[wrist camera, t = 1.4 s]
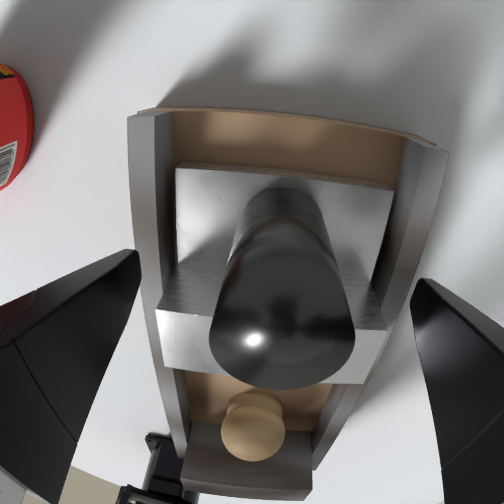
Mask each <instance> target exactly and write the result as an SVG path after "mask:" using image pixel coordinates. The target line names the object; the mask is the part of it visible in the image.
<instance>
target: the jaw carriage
mask: <svg viewBox="0 0 504 504" xmlns="http://www.w3.org/2000/svg"><path fill="white" fill-rule="evenodd" d="M175 183H176V227H177V252H178V265H177V267H176V269H175V271H174V273H173V275H172V277H171V279H170V281H169V283H168V285H167V287H166V289H165V291H164V293H163V295H162V297H161V299H160V301H159V303H158V305H157V307H156V316H157V323H158V330H159V336H160V342H161V348H162V354H163V360H164V366H165V367H171V368H177V369H183V370H190V371H196V372H203V373H210V374H218V375H226V376H233V377H234V378H236V379H238V380H240V381H241V382H244V383H246V384H249V385H252V386H255V387H259V388H264V389H271V390H291V389H299V388H303V387H308V386H311V385H314V384H317V383H336V384H363V383H364V381H365V379H366V377H367V375H368V373H369V371H370V369H371V367H372V365H373V363H374V361H375V359H376V356H377V354H378V352H379V350H380V348H381V346H382V343H383V341H384V339H385V337H386V334H387V332H388V329H387V326H386V323H385V321H384V318H383V315H382V312H381V310H380V307H379V304H378V302H377V299H376V296H375V294H374V291H373V289H372V286H371V283H370V281H371V277H372V274H373V271H374V267H375V264H376V261H377V257H378V254H379V250H380V246H381V243H382V239H383V235H384V232H385V228H386V224H387V220H388V216H389V212H390V208H391V203H392V199H393V195H394V191H393V190H392V189H391V188H390V187H389V186H388V185H387V184H386V183H380V182H374V181H368V180H361V179H355V178H348V177H341V176H334V175H327V174H319V173H311V172H302V171H294V170H284V169H275V168H264V167H253V166H241V165H228V164H214V163H196V162H182V163H181V164H180V165H179V166H178V167H176V168H175Z"/></svg>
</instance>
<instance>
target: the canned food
mask: <svg viewBox="0 0 504 504" xmlns="http://www.w3.org/2000/svg"><path fill="white" fill-rule="evenodd" d="M32 137H33V110H32V102H31V99H30V95H29V91H28V89H27V87H26V84H25V82H24V80H23V79H22V77H21V76H20V75H19V73H17V72H16V71H15V70H14V69H13V68H10V67H7V66H5V65H2V64H0V190H2V189H4V188H5V187H7V186H8V185H9V184H10V183H11V182H12V181H13V180H14V178H15V177H16V176H17V175H18V174H19V173H20V171H21V170H22V168H23V166H24V165H25V163H26V160H27V158H28V155H29V152H30V148H31V143H32Z"/></svg>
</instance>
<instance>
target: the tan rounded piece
mask: <svg viewBox="0 0 504 504" xmlns="http://www.w3.org/2000/svg"><path fill="white" fill-rule="evenodd" d="M221 437H222V441H223V443H224V445H225V447H226V448H227V450H228V451H229V452H230V453H231V454H233V455H234V456H236V457H237V458H239V459H242V460H246V461H260V460H264V459H267V458H269V457H270V456H272V455H273V454H275V453H276V452H277V451H278V450H279V448H280V447H281V445H282V443H283V441H284V437H285V426H284V423H283V420H282V404H281V402H280V401H279V400H278V399H277V398H275V397H273V396H271V395H269V394H265V393H260V392H245V393H240V394H237V395H235V396H233V397H232V398H231V399H230V400H229V402H228V409H227V415H226V417H225V418H224V421H223V423H222V427H221Z"/></svg>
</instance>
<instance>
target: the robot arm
mask: <svg viewBox="0 0 504 504" xmlns="http://www.w3.org/2000/svg"><path fill="white" fill-rule="evenodd" d="M141 279H142V272H141V264H140V256H139V252H138V251H137V250H132V249H124V250H121V251H119V252H117V253H114V254H112V255H110V256H108V257H105V258H103V259H101V260H99V261H96V262H94V263H92V264H90V265H87V266H85V267H83V268H81V269H79V270H76V271H74V272H72V273H70V274H68V275H66V276H63V277H61V278H59V279H57V280H55V281H53V282H51V283H48V284H46V285H44V286H42V287H40V288H38V289H37V290H34V291H32V292H30V293H28V294H26V295H23V296H21V297H19V298H17V299H15V300H13V301H11V302H8V303H6V304H4V305H1V306H0V504H21V503H22V501H23V498H24V496H25V493H28V494H30V495H32V496H34V497H36V498H38V499H40V500H42V501H43V502H46V503H47V504H58V502H59V499H60V496H61V493H62V489H63V486H64V483H65V480H66V477H67V473H68V471H69V468H70V465H71V462H72V459H73V456H74V453H75V450H76V447H77V443H78V441H79V438H80V435H81V433H82V430H83V427H84V425H85V422H86V419H87V417H88V414H89V411H90V409H91V406H92V404H93V401H94V399H95V396H96V394H97V391H98V389H99V386H100V384H101V381H102V379H103V377H104V374H105V372H106V369H107V367H108V365H109V362H110V360H111V358H112V355H113V353H114V351H115V348H116V346H117V344H118V342H119V339H120V337H121V335H122V333H123V331H124V328H125V326H126V324H127V321H128V319H129V316H130V313H131V310H132V307H133V304H134V301H135V298H136V295H137V292H138V289H139V286H140V283H141ZM410 311H411V316H412V322H413V328H414V334H415V340H416V345H417V350H418V354H419V358H420V362H421V366H422V370H423V374H424V378H425V382H426V387H427V391H428V396H429V400H430V405H431V410H432V415H433V421H434V426H435V432H436V437H437V444H438V450H439V457H440V464H441V469H442V470H441V473H442V482H443V491H444V502H445V504H504V328H503V327H502V326H500V325H499V324H498V323H496V322H495V321H493V320H492V319H490V318H489V317H488V316H486V315H485V314H483V313H482V312H480V311H479V310H478V309H476V308H475V307H473V306H472V305H470V304H469V303H467V302H466V301H464V300H463V299H461V298H460V297H458V296H457V295H455V294H454V293H452V292H451V291H449V290H448V289H446V288H445V287H443V286H442V285H440V284H439V283H437V282H436V281H434V280H432V279H428V278H421V279H419V280H418V282H417V284H416V287H415V289H414V292H413V294H412V297H411V300H410ZM145 441H146V443H147V445H148V448H149V450H150V452H151V457H150V461H149V464H148V468H147V472H146V475H145V479H144V482H143V486H142V489H138V488H135V487H133V486H132V485H129V484H128V485H127V486H121V488H120V491H119V495H118V498H117V501H116V503H115V504H133V503H131V500H133V501H136V503H135V504H198V500H199V495H200V493H199V492H193V491H188V490H184V487H183V485H182V482H181V479H180V475H181V471H182V466H183V461H184V459H183V458H178V456H177V452H176V449H175V446H174V442H173V440H169V439H164V438H159V437H155V436H150V435H146V437H145Z"/></svg>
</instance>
